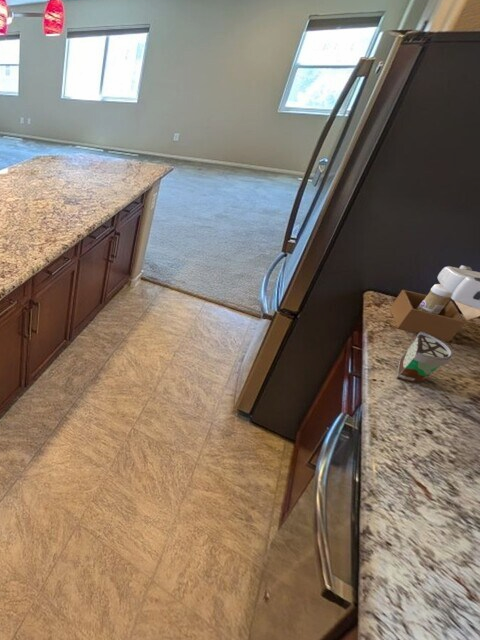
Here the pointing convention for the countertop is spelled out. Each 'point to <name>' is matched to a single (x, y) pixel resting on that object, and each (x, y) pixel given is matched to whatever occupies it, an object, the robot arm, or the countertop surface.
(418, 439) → the countertop surface
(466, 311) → the flap
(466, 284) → the robot arm
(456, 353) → the countertop surface
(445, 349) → the food container
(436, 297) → the sprinkles bottle
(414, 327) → the carton
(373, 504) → the countertop surface
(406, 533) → the countertop surface
